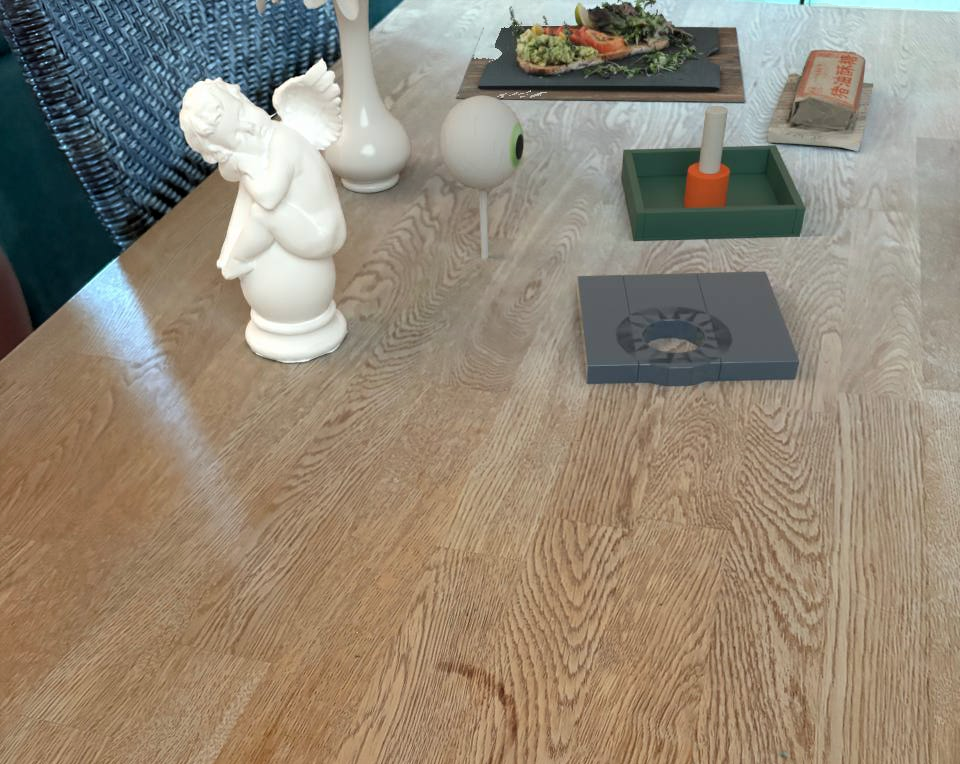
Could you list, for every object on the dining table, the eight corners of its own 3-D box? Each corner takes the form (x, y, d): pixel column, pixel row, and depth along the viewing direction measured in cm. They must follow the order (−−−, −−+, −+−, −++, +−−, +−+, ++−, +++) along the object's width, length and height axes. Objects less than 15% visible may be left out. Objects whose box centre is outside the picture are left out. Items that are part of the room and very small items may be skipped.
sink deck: (759, 303, 89) (765, 271, 87) (793, 398, 79) (801, 364, 77) (575, 307, 89) (577, 275, 87) (586, 403, 79) (588, 369, 77)
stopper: (722, 196, 102) (735, 101, 96) (727, 214, 99) (741, 117, 93) (682, 197, 102) (692, 101, 96) (685, 215, 100) (697, 118, 93)
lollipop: (508, 295, 91) (507, 118, 80) (435, 284, 93) (423, 109, 82) (533, 259, 96) (535, 86, 84) (462, 248, 97) (455, 78, 86)
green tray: (770, 174, 106) (776, 144, 104) (799, 239, 97) (805, 208, 94) (621, 178, 107) (623, 149, 105) (634, 243, 97) (636, 212, 95)
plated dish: (455, 100, 123) (452, 32, 118) (481, 29, 143) (480, -32, 137) (749, 105, 120) (760, 36, 115) (734, 32, 140) (743, -30, 134)
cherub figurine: (217, 355, 86) (147, 70, 70) (275, 284, 94) (224, 14, 78) (352, 373, 83) (312, 81, 67) (400, 298, 91) (374, 22, 75)
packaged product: (794, 42, 120) (882, 49, 117) (786, 86, 123) (871, 94, 121) (773, 97, 108) (870, 106, 106) (764, 144, 112) (859, 154, 109)
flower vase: (287, 159, 113) (242, -117, 95) (453, 156, 112) (439, -123, 94) (267, 211, 104) (212, -81, 86) (446, 208, 103) (430, -88, 85)
